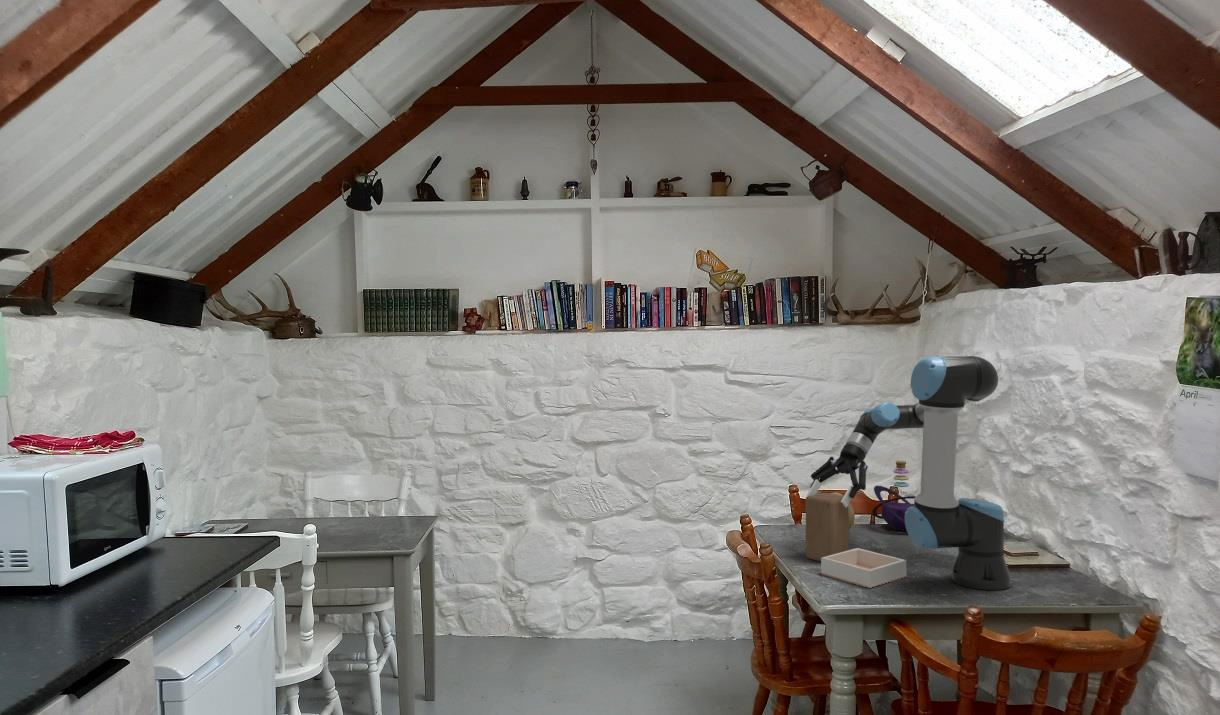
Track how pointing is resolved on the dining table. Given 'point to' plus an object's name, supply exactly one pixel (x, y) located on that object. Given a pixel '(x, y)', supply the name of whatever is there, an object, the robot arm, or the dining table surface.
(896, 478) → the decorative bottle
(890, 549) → the dining table surface
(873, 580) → the shallow white tray
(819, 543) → the wooden block
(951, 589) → the dining table surface
